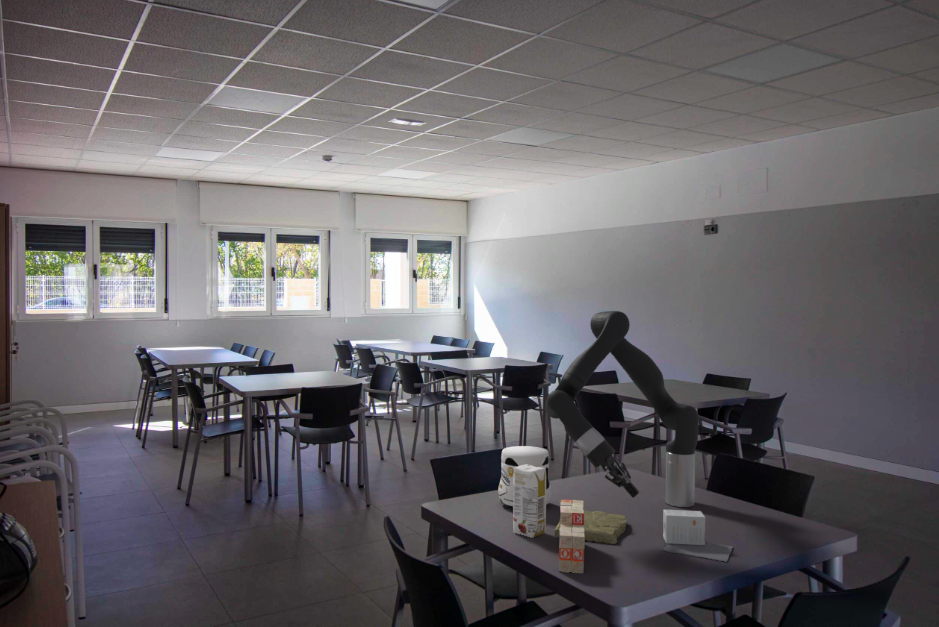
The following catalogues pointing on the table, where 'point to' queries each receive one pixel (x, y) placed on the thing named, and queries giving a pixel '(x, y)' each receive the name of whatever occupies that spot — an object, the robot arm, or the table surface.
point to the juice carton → (529, 500)
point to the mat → (702, 550)
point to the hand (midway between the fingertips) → (636, 495)
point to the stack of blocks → (571, 536)
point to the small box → (684, 527)
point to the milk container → (517, 458)
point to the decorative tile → (601, 526)
